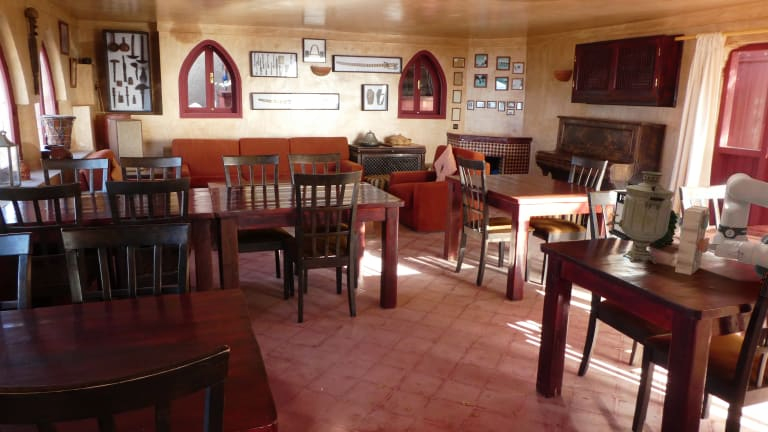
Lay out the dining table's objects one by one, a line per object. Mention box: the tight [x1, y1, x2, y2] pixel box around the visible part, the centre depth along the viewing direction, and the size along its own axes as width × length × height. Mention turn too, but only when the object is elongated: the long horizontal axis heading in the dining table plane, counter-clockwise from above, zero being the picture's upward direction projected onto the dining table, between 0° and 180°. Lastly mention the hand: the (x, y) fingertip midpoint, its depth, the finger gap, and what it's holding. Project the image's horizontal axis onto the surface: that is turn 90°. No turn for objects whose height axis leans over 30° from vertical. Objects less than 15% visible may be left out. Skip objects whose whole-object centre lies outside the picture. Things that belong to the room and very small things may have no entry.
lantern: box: [608, 172, 643, 241], centre depth 301 cm, size 17×17×35 cm
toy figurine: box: [652, 209, 678, 249], centre depth 284 cm, size 9×19×25 cm
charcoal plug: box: [681, 213, 710, 230], centre depth 239 cm, size 6×9×6 cm, turn 49°
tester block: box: [674, 205, 710, 276], centre depth 241 cm, size 16×6×27 cm, turn 139°
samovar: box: [605, 171, 675, 265], centre depth 254 cm, size 30×26×40 cm
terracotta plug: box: [698, 237, 710, 254], centre depth 240 cm, size 6×9×6 cm, turn 49°
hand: (707, 245), depth 237 cm, fingers closed, pressing on terracotta plug
